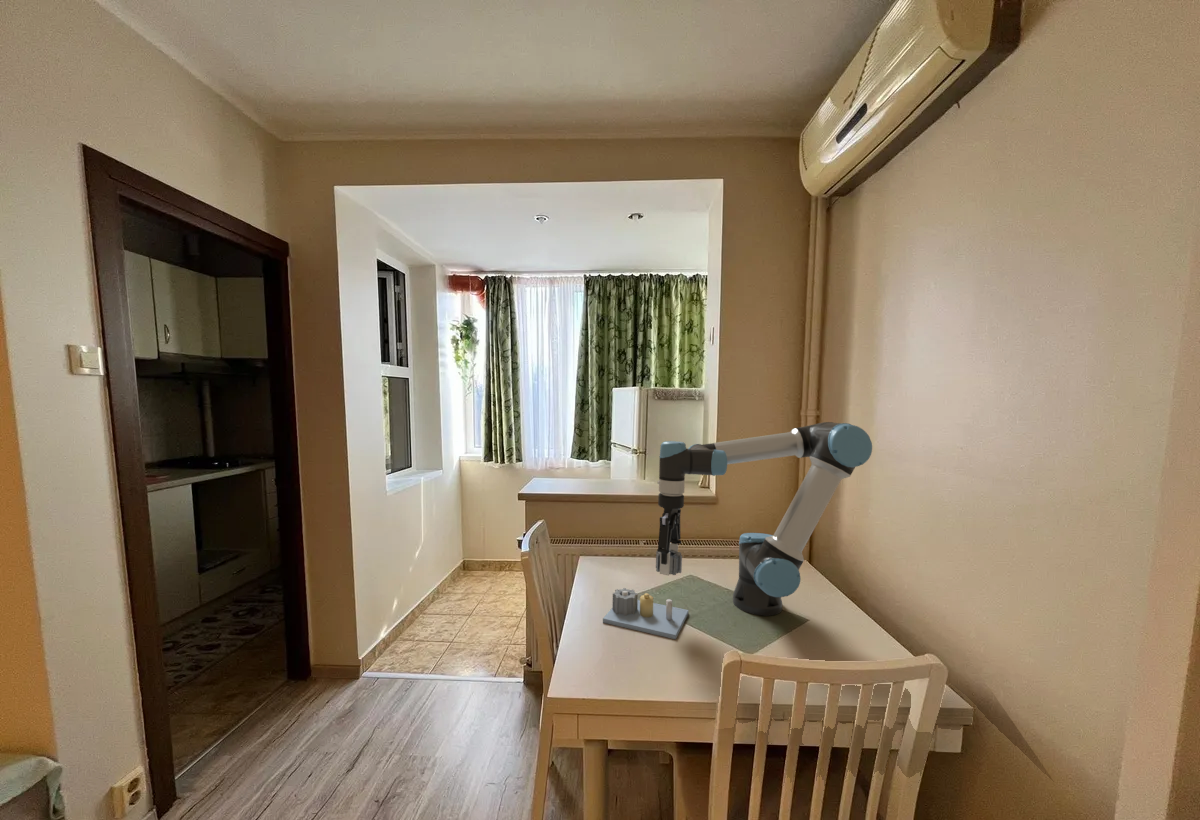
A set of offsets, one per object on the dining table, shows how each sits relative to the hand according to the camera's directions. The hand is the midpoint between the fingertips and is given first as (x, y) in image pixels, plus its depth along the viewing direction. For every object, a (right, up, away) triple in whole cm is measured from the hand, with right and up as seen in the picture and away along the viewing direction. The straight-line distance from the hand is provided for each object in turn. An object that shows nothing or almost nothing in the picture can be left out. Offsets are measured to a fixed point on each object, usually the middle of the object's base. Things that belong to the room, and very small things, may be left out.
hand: (668, 569), depth 130 cm
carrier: (-6, -16, +2) cm, 17 cm away
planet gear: (0, 0, 0) cm, 0 cm away
